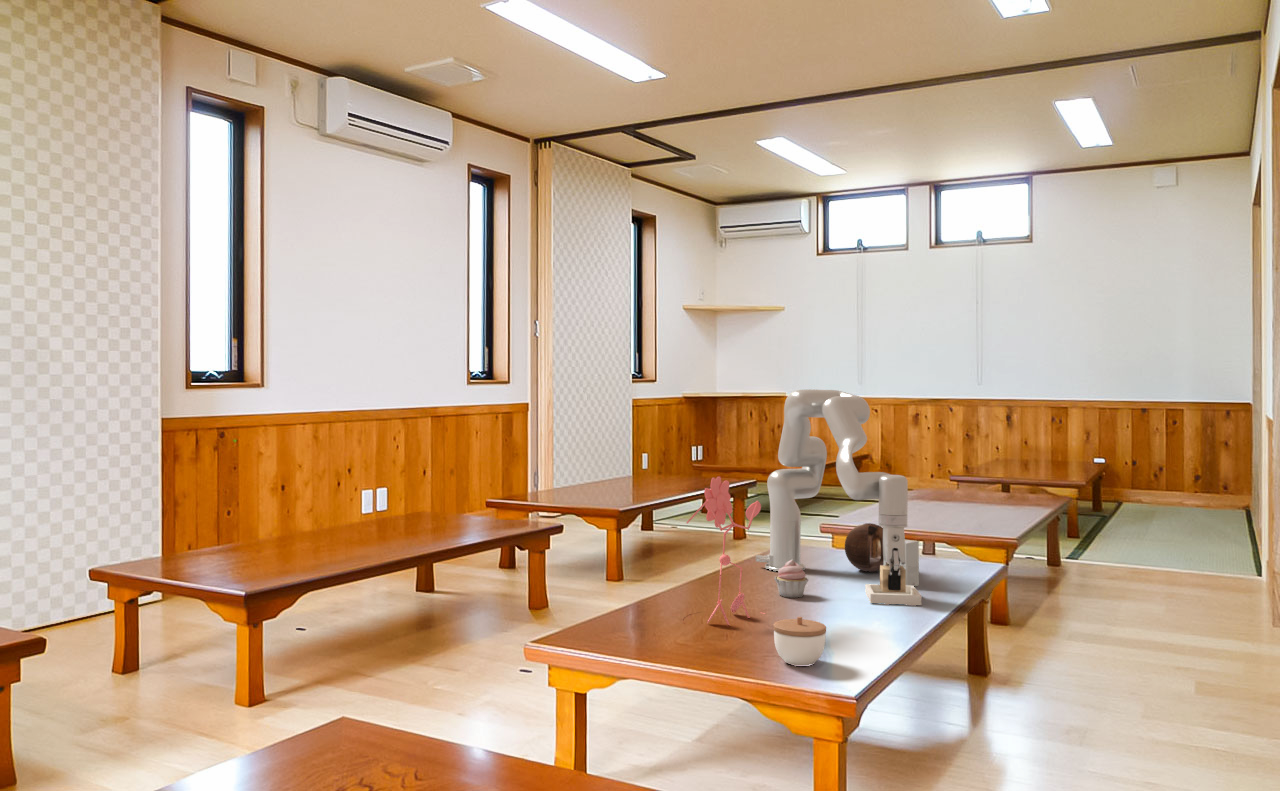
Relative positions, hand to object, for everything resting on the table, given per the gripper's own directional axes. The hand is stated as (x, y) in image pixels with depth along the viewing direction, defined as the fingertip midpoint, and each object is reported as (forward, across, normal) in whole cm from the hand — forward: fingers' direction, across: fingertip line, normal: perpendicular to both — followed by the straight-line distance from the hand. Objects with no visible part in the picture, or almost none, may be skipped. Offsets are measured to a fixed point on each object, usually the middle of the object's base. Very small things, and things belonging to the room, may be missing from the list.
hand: (892, 586), depth 249 cm
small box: (+4, +20, -5) cm, 21 cm away
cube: (+1, 0, 0) cm, 1 cm away
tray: (+3, 0, 0) cm, 3 cm away
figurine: (+4, -29, +46) cm, 55 cm away
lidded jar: (+4, -64, +27) cm, 70 cm away
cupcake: (+4, 0, +27) cm, 27 cm away
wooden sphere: (+4, +40, +2) cm, 40 cm away
